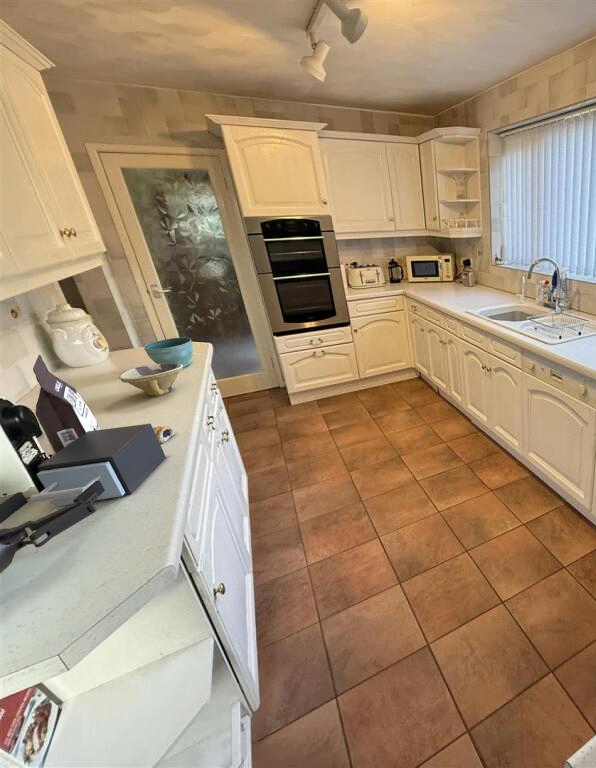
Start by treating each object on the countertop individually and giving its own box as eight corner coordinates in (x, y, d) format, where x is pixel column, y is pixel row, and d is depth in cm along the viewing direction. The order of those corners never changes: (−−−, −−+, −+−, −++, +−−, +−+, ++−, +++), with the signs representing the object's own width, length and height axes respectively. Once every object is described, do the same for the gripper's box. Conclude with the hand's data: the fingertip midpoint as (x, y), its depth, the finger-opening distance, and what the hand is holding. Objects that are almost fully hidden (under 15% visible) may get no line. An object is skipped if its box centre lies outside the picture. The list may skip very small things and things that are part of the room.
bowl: (189, 394, 146) (180, 370, 143) (125, 407, 137) (113, 382, 133) (192, 379, 160) (183, 357, 156) (134, 390, 151) (123, 367, 147)
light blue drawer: (105, 513, 87) (86, 480, 83) (34, 525, 84) (12, 491, 80) (156, 461, 105) (143, 432, 101) (100, 469, 102) (84, 439, 98)
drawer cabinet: (131, 494, 94) (111, 456, 89) (61, 505, 91) (36, 466, 86) (166, 457, 108) (150, 423, 103) (106, 466, 105) (87, 431, 100)
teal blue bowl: (196, 368, 171) (188, 344, 167) (149, 376, 164) (138, 351, 160) (201, 357, 184) (193, 335, 180) (157, 364, 177) (148, 341, 173)
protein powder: (108, 460, 107) (58, 364, 96) (62, 474, 102) (3, 374, 90) (107, 438, 118) (62, 349, 107) (65, 449, 113) (13, 358, 101)
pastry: (129, 445, 114) (123, 434, 112) (148, 434, 120) (143, 423, 119) (162, 444, 114) (157, 433, 112) (179, 432, 120) (175, 421, 119)
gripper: (44, 539, 66) (123, 467, 85) (-153, 573, 61) (-22, 487, 80) (66, 571, 69) (137, 494, 88) (-120, 606, 64) (-2, 516, 83)
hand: (62, 491), depth 84 cm, fingers open, 13 cm apart
